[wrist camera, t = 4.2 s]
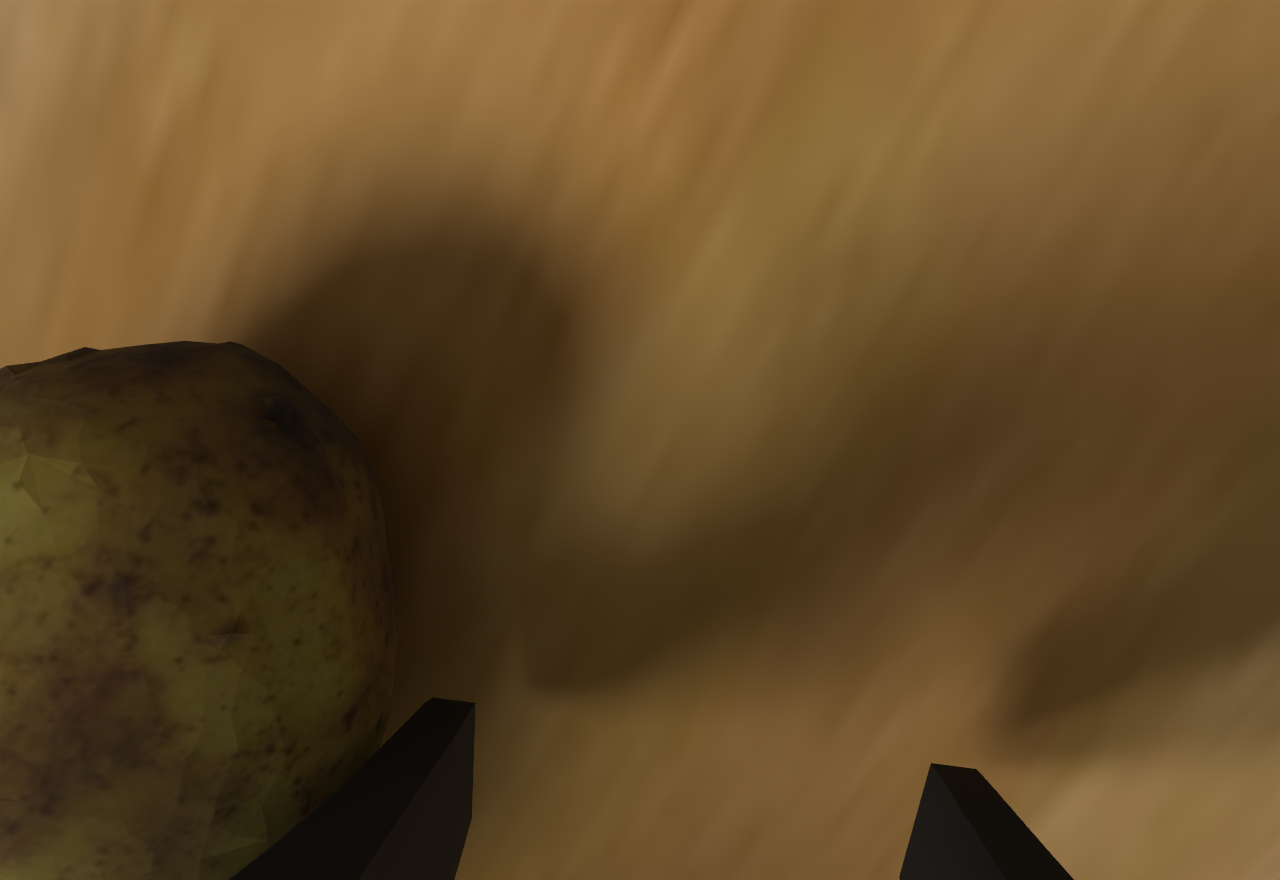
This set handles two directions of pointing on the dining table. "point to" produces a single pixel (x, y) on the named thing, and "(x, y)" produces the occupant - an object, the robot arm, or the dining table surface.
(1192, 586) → the dining table surface
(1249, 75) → the dining table surface
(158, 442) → the potato
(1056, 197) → the dining table surface
